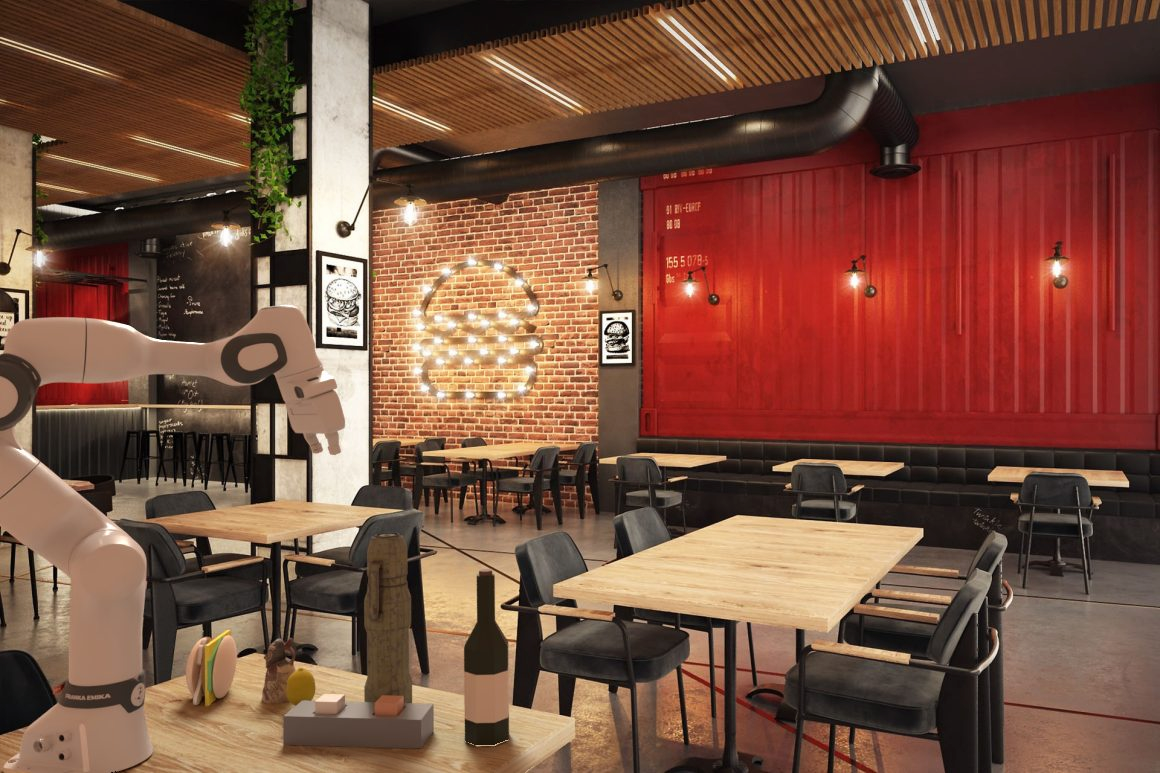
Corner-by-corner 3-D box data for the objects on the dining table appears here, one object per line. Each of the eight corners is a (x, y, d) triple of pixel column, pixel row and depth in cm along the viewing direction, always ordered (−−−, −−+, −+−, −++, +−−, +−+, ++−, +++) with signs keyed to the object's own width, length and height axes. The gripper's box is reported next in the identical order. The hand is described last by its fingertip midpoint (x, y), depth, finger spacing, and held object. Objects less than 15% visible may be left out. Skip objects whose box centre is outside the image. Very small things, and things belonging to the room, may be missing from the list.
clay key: (374, 722, 153) (374, 703, 153) (382, 714, 157) (382, 695, 157) (396, 723, 153) (396, 703, 153) (403, 715, 157) (403, 695, 157)
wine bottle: (498, 750, 149) (496, 576, 150) (455, 744, 152) (453, 573, 152) (518, 732, 157) (516, 567, 157) (477, 727, 160) (475, 564, 160)
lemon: (319, 704, 173) (319, 663, 173) (308, 714, 167) (308, 672, 168) (293, 703, 173) (293, 663, 174) (281, 713, 168) (281, 672, 168)
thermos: (421, 707, 170) (419, 530, 171) (400, 730, 158) (398, 539, 159) (378, 706, 171) (376, 529, 172) (354, 728, 160) (353, 539, 160)
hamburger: (202, 686, 184) (202, 630, 185) (241, 685, 185) (241, 629, 185) (178, 706, 172) (177, 646, 173) (220, 705, 173) (219, 645, 173)
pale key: (315, 721, 154) (315, 701, 154) (324, 713, 158) (323, 693, 158) (336, 721, 154) (336, 702, 154) (345, 713, 158) (344, 694, 158)
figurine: (267, 692, 180) (266, 634, 180) (302, 690, 181) (301, 633, 181) (257, 704, 173) (257, 644, 173) (294, 702, 174) (293, 643, 174)
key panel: (283, 744, 153) (283, 716, 153) (302, 727, 160) (302, 700, 161) (421, 748, 150) (421, 719, 150) (433, 731, 158) (433, 703, 158)
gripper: (271, 392, 172) (293, 457, 175) (306, 389, 156) (331, 460, 158) (301, 383, 176) (322, 446, 178) (338, 378, 160) (361, 448, 162)
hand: (326, 453), depth 168 cm, fingers open, 8 cm apart
